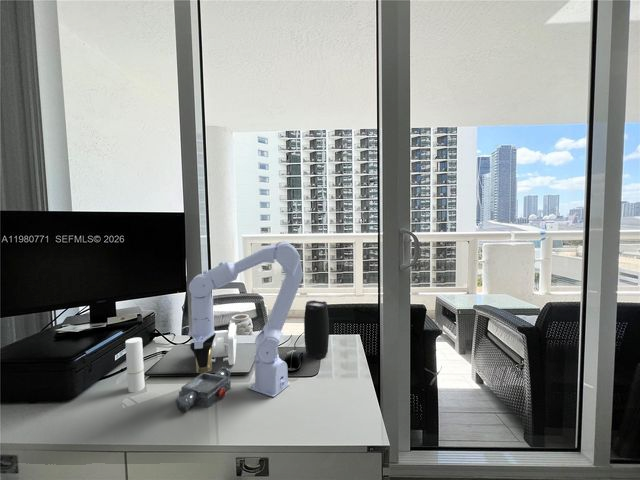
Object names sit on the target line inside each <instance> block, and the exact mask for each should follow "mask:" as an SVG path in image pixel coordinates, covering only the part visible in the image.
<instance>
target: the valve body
mask: <svg viewBox="0 0 640 480" xmlns="http://www.w3.org/2000/svg"><path fill="white" fill-rule="evenodd" d="M230 377H231V370H230V369H229V368H228V367H226V366H221V367H220V368H219V370H218V371H217V372H215V373H214V374H213V373H209V372H206V373H199V374H198V375H197V376H195V378H194V377H193V379H191V380H190V381H188V382H187V383H185V384H184V385H182V386H181V390H179V391H178V398H177V400H176V401H175V406H176V408H177V410H178V411H179V412H180V413H182V414H183V413H184V414H185V413H187V412H188V411H189V410H190V407H192V406H194V405H195V406H196V405H197V406H201V407H204V408H210V407H211V406H212V405H213V404H214V403H216V402H217V401H218V400H219V399H222V398H224V397H225V396H226V393H227V392H229V391H230V390H231V389H232V386H231V385H232V384H231V380H230Z"/></svg>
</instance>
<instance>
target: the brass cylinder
mask: <svg viewBox="0 0 640 480" xmlns="http://www.w3.org/2000/svg"><path fill="white" fill-rule="evenodd" d="M212 359H213V358H211V347H210V350H209V356H208V364H207V367H202V368H199V366H198V363H197V360H196V359H195V363H196V364H195V365H196V366H195V368H196V372H197V373H198V374H202V373H209V372H211V371H212V370H213V362H212Z"/></svg>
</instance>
